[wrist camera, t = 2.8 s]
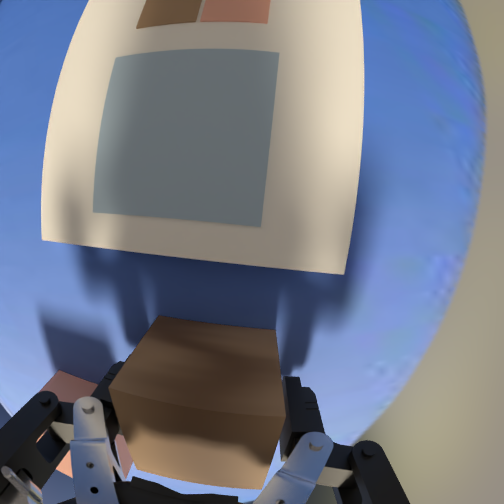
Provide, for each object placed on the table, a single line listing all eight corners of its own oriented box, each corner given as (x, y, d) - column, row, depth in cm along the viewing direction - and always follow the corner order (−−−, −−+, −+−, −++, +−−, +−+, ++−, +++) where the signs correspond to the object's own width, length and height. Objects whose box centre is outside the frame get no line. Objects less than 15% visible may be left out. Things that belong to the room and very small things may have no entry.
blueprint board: (53, 236, 11) (40, 240, 10) (99, 2, 8) (91, -6, 7) (337, 267, 11) (344, 275, 10) (353, -2, 8) (358, -12, 7)
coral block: (79, 420, 15) (50, 465, 9) (59, 369, 13) (17, 416, 8) (140, 442, 15) (118, 497, 9) (127, 392, 13) (92, 457, 8)
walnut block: (165, 396, 13) (137, 469, 8) (159, 314, 12) (108, 387, 7) (260, 409, 13) (261, 489, 8) (275, 329, 12) (285, 416, 7)
